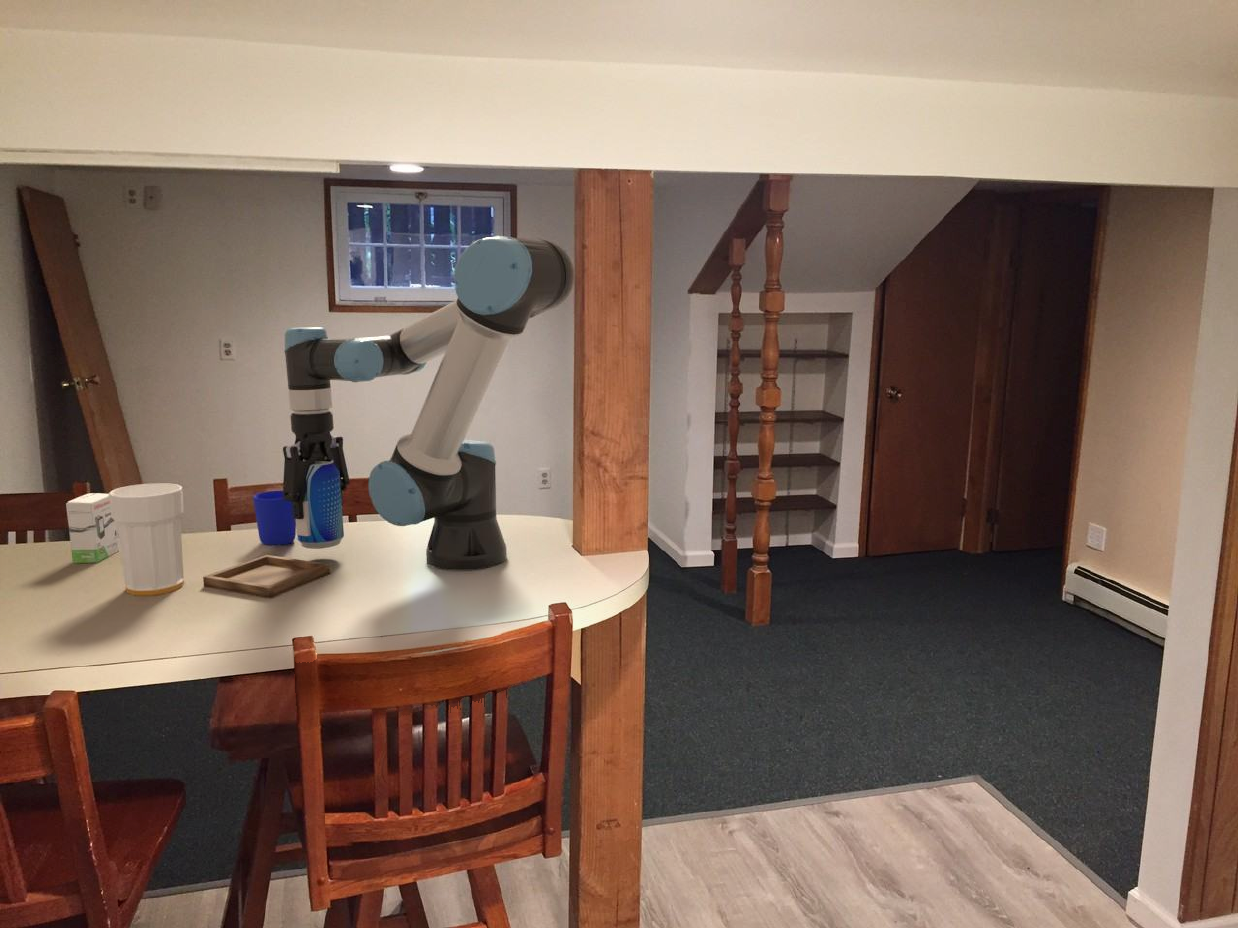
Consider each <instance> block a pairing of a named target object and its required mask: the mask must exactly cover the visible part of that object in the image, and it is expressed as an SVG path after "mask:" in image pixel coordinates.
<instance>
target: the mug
mask: <svg viewBox="0 0 1238 928" xmlns="http://www.w3.org/2000/svg"><path fill="white" fill-rule="evenodd" d="M289 494H290V493H289ZM252 499H253V505H254V512H255V513H254V514H255V518H256V527H257V531H258V537H259V540H260V542H261V544H263V545H265V546H271V547H279V546H285V545H288V544H291V543H293V542H295V539H296V536H297V533H296V520H295V519H294V517H293V505H292V502H291V501H288V500H284V499H283V490H269V491H268V490H267V491H262V492H258V493H256V494H254V495H253V496H252Z"/></svg>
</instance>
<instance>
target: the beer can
mask: <svg viewBox="0 0 1238 928" xmlns="http://www.w3.org/2000/svg"><path fill="white" fill-rule="evenodd" d="M303 461H305V460H303ZM333 462H334V461H333V460H331V462H326V461H315V464H313V465H311V466H310V468H309V471H308V474H307V477H306V481H307V491H306V495H305V500H304V501H308V506H309V519H310V531H311V535H310V536H301V535H297V540H298V542H299V543H301V546H302V547H303V548H305V549H312V550H313V549H314V550H319V549H320V550H321V549H328V548H332V547H336V546H338V545H340V544H341V541H342V539H343V538H344V537H345V530H344V529H345V528H344V519H343V517H344V515H343V506H342V501H341V487H340V474H339V470H338V469H337V468H336V466H335V465H334V464H333ZM298 495H299V493H298Z"/></svg>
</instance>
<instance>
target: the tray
mask: <svg viewBox="0 0 1238 928" xmlns="http://www.w3.org/2000/svg"><path fill="white" fill-rule="evenodd" d="M328 575H331V564H329V563H325V562H324V563H323V562H317V561H309V560H302V559H299V558H291V557H285V556H276V555H271V554H264V555H262V556H260V557H257V558H253V559H251V560H248V561H245V562H242V563H238V564H236V565H233V566H231V567H228V568H225V569H222V570H220V571H216V572H213V573H210V574H207V575H204V576H203V577H202V579H203V587H204V588H209V589H210V588H211V589H215V590H220V591H226V592H232V593H236V594H237V593H238V594H243V595H249V596H254V597H260V598H265V599H272V598H275V597H277V596H280V595H283V594H284V593H287V592H289V591H292V590H295V589H296V588H300V587H301V586H304V585H307V584H309V583H311V582H315V581H317V580H319V579H322V578H324V577H326V576H328Z"/></svg>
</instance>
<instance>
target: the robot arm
mask: <svg viewBox="0 0 1238 928" xmlns="http://www.w3.org/2000/svg"><path fill="white" fill-rule="evenodd" d="M453 273H454V275H453V282H454V283H455V284H456V286H455V288H454V289H455V293H456V295H457V298H456V299H457V300H454V301H452V302H450V303H449V304H446V305H445V306H443V307H441V308H438V309H436V310H435V311H433V312H431V313H430V314H427V315H426V316H424V317H422V318H420V319H418V320H416V321H414V322H413V323H411V324H409V325H406V326H405V327H403V328H401V329H399V330H397V331H395V332H393V333H391V334H388V335H377V336H369V337H367V336H364V337H355V338H329V337H328V334H327V330H326V328H324V327H320V326H319V327H318V326H311V327H309V326H307V327H306V326H305V327H302V326H301V327H291V328H288V329H286V330H285V333H284V350H283V351H284V354H285V367H286V377H287V388H288V399H289V401H288V402H289V409H290V410H291V411H292V412H291V413H290V416H289V418H290V426H291V427H290V428H291V432H292V433H293V434H294V435H295V440H294V444H292V445H284V446H283V447H282V452H283V457H284V463H283V464H284V466H283V479H282V480H283V481H282V483H283V484H282V491H283V499H284V500H288V501H291V502H292V505H293V517H294V519H295V520H296V536H298V535H301V536H310V535H311V531H310V519H309V506H308V501H304V500H305V495H306V491H307V481H306V477H307V474H308V471H309V468H310V466H311V465H313V464H315V461H326V462H331V460H333V461H334V462H333V464H334V465H335V466H336V468H337V469H338V470H339V474H340V487H341V501H342V507H343V505H344V500H343V492H346V491H347V489H348V486H349V485H350V482H351V481H350V476H349V472H348V467H347V463H346V458H345V453H344V438H343V436H339V435H337V436H336V435H332V434H331V432H332V431H333V430H334V416H333V415H334V413H333V412H332V411H331V409H332V408H333V401H332V400H333V399H332V398H333V397H332V389H331V387H332V386H331V381H341V382H342V381H344V382H352V383H361V382H371V381H373V380H374V379H376V378H381V377H389V376H390V377H391V376H398V375H399V376H400V375H403V376H405V375H409V374H412V373H417V372H419V371H422V369H424V368H425V366H426V365H427V363H428V362H429V361H432V360H434V359H436V358H438V357H439V356H442V355H443V357H442V359H441V361H440V364H439V367H438V369H437V372H436V374H435V375H434V379H433V381H432V384H431V386H430V387H429V390H428V392H427V395H426V397H425V400H424V401H423V404H422V408H421V409H420V411H419V414H418V416H417V418H416V421H415V423H414V426H413V429H412V431H411V433H409V434H405V435H403V436H401V437H400V438H398V441H397V443H396V445H395V447H394V450H393V453H391V457H390V459H389V460H384V461H381V462H379V464H377V465H375V466H374V467H373V468H372V470H371V471H370V474H369V477H368V483H367V484H368V486H367V487H368V495H369V497H370V499H371V502H372V505H373V507H374V509H375V510H376V512H377V513H378V514H379V516H380V517H381V518H382V519H383V520H384V521H386V522H387V523H389V524H391V525H393V526H396V527H397V526H398V527H406V526H411V525H413V526H414V525H418V524H421V522H425V521H429V520H431V519H434V522H433V525H432V528H431V532H430V535H429V539H428V542H427V546H426V549H425V552H426V556H425V557H426V563H427V564H428V565H429V566H431V567H433V568H436V569H440V570H442V569H443V570H448V571H472V570H474V571H475V570H481V569H486V568H492V567H495V566H498V565H500V564H502V563H503V562H505V561H506V560H507V556H508V555H507V545H506V542H505V539H504V536H503V533H502V531H501V527H500V525H499V522H498V519H497V486H496V485H497V483H496V482H497V481H496V465H497V461H496V456H495V455H496V453H495V447H494V446H493V445H492V444H491V442H487V441H482V440H474V439H473V440H472V439H465V438H466V436H467V434H468V431H469V429H470V426H471V425H472V423H473V421H474V418H475V416H476V414H477V411H478V409H479V407H480V405H481V402H482V400H483V398H484V396H485V394H486V391H487V389H488V387H489V385H490V383H491V380H492V378H493V376H494V374H495V372H496V370H497V368H498V366H499V365H498V364H499V363H500V362H501V358H502V356H503V353H504V352H505V349H506V347H507V345H508V342H509V340H510V339H512V338H516V337H519V336H520V335H522V334H523V333H524V330H525V328H526V326H527V324H528V321H529V320H530V319H532V318H534V317H535V316H538V315H541V314H542V313H545V312H547V311H550V310H553V309H555V308H557V307H558V306H560V305H561V304H563V303H564V302H565V301H566V300H567V298H568V297H569V296H570V294H571V292H572V290H573V289H574V288H573V287H574V284H575V276H576V275H575V274H576V273H575V267H574V263H573V261H572V259H571V258H570V255H569V254H568V253H567V252H566V250H565V249H564V248H563V247H561V246H560V245H559V244H558V243H555V242H554V241H551V240H548V239H543V238H525V237H524V238H523V237H522V238H520V237H512V236H508V235H506V236H505V235H496V236H495V235H494V236H492V237H491V236H490V237H484V238H481V239H477V240H475V241H473V242H471V244H470V245H468V246H467V247H466V248H465V249H464V251H463V252H462V253H461V254H460V256H459V258H458V260H457V262H456V264H455V268H454V272H453ZM303 460H305V461H303ZM289 493H290V494H289ZM298 493H299V495H298Z"/></svg>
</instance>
